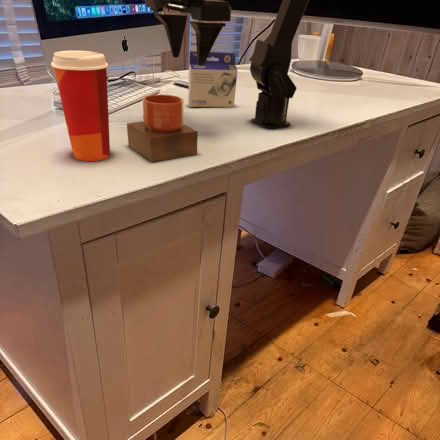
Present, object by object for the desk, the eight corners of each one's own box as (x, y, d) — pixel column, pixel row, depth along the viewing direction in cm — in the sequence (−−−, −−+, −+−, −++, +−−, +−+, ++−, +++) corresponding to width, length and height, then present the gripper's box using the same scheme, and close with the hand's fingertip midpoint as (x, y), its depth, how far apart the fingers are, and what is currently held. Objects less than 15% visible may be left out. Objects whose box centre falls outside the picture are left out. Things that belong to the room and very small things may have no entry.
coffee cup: (96, 143, 75) (85, 48, 66) (126, 155, 71) (118, 56, 62) (55, 154, 70) (36, 52, 61) (85, 167, 66) (70, 60, 57)
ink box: (189, 108, 99) (190, 52, 92) (187, 105, 101) (188, 51, 94) (235, 107, 102) (239, 53, 95) (232, 104, 104) (236, 52, 97)
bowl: (171, 119, 76) (170, 93, 73) (190, 130, 72) (190, 102, 69) (137, 123, 73) (135, 96, 70) (155, 134, 68) (154, 105, 66)
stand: (171, 139, 79) (171, 117, 77) (197, 154, 74) (197, 131, 71) (128, 146, 75) (126, 123, 73) (151, 162, 69) (150, 138, 67)
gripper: (121, -48, 72) (128, 54, 82) (175, -47, 61) (176, 72, 70) (176, -43, 78) (177, 53, 87) (236, -41, 66) (229, 69, 75)
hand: (187, 61), depth 80 cm, fingers open, 9 cm apart
